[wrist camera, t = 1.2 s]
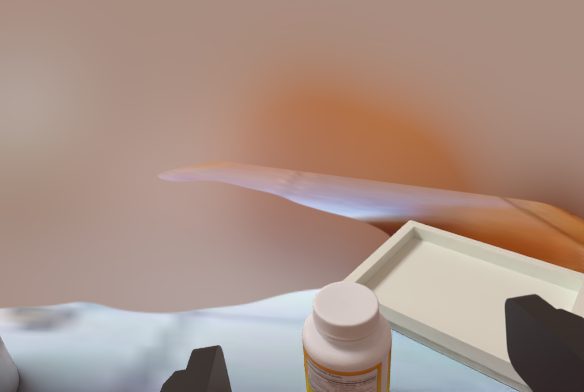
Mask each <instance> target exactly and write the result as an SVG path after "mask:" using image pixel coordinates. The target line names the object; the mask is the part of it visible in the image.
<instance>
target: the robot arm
mask: <svg viewBox="0 0 584 392" xmlns="http://www.w3.org/2000/svg"><path fill="white" fill-rule="evenodd" d="M505 324H506V342H507V352H508V356H509V359H510V362H511V364H512V366H513V368H514V370H515V371H516V372H517V374H518V375H519V376H520V377H521V378H522V380H523V381H524V382H525V383H526V384H527V385H528V386H529V388H530V389H531V390H532V391H533V392H584V318H583V317H581V316H579V315H576V314H574V313H571V312H569V311H566V310H564V309H556V308H554V307H553V306H552V305H551V304H549V303H548V302H547V301H545V300H544V299H543V298H541V297H540V296H539V295H537V294H531V295H525V296H519V297H512V298H508V299H506V301H505ZM18 385H19V375H18V371H17V369H16V367H15V365H14V363H13V361H12V359H11V357H10V355H9V353H8V351H7V349H6V347H5V345H4V343H3V341H2V339H1V337H0V392H16V391H17V389H18ZM160 392H232V390H231V386H230V382H229V377H228V373H227V368H226V364H225V359H224V355H223V351H222V348H221V346H220V345H217V346H211V347H205V348H199V349H194V350H193V351H192V353H191V356H190V359H189V362H188V365H187V368H186V370H180V371H175V372H174V373H173V374H172V376H171V377H170V378H169V379H168V380H167V381H166V382H165V383H164V384H163V386H162V389H161V391H160Z"/></svg>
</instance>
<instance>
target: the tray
mask: <svg viewBox="0 0 584 392" xmlns="http://www.w3.org/2000/svg"><path fill="white" fill-rule="evenodd" d="M342 282H354V283H358V284H361V285H364V286H366V287H368V288H369V289H370V290H372V291H373V292H374V293H375V295H376V296H377V298H378V301H379V312H380V313H381V314H382V315H383V316H384V317H385V319H386V320H387V322H388V324H389V326H390V328H391V329H393V330H395V331H397V332H399V333H401V334H403V335H405V336H407V337H409V338H411V339H413V340H415V341H417V342H419V343H422V344H424V345H426V346H428V347H430V348H432V349H434V350H436V351H438V352H440V353H442V354H444V355H446V356H448V357H450V358H452V359H454V360H456V361H459V362H461V363H463V364H465V365H467V366H469V367H471V368H473V369H475V370H477V371H479V372H481V373H483V374H485V375H487V376H489V377H491V378H493V379H496V380H498V381H500V382H502V383H504V384H506V385H508V386H510V387H512V388H514V389H516V390H518V391H520V392H533V391H532V390H531V389H530V388H529V386H528V385H527V384H526V383H525V382H524V381H523V380H522V378H521V377H520V376H519V375H518V374H517V372H516V371H515V370H514V368H513V366H512V364H511V362H510V359H509V356H508V352H507V342H506V324H505V301H506V299H508V298H512V297H519V296H525V295H531V294H537V295H539V296H540V297H541V298H543V299H544V300H545V301H547V302H548V303H549V304H551V305H552V306H553V307H554V308H556V309H564V310H566V311H569V312H571V313H574V314H576V315H579V316H581V317H583V318H584V274H582V273H579V272H576V271H573V270H569V269H566V268H563V267H560V266H556V265H553V264H550V263H547V262H543V261H540V260H537V259H534V258H531V257H527V256H524V255H521V254H518V253H514V252H511V251H508V250H505V249H501V248H498V247H495V246H492V245H489V244H485V243H482V242H479V241H476V240H472V239H469V238H466V237H463V236H459V235H456V234H453V233H450V232H447V231H443V230H440V229H437V228H434V227H430V226H427V225H424V224H421V223H417V222H414V221H411V220H409V221H408V222H407V223H406V224H405V225H404V226H403V227H402V228H401V229H400V230H398V231H397V232H396V233H395V234H394V235H393V236H392V237H391V238H390V239H389V240H387V241H386V242H385V243H384V244H383V245H382V246H381V247H380V248H379V249H378V250H377V251H376V252H374V253H373V254H372V255H371V256H370V257H369V258H368V259H367V260H365V261H364V262H363V263H362V264H361V265H360V266H359V267H358V268H357V269H356V270H354V271H353V272H352V273H351V274H350V275H349V276H348V277H347V278H346V279H344V280H343V281H342Z"/></svg>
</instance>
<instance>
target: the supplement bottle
mask: <svg viewBox="0 0 584 392" xmlns="http://www.w3.org/2000/svg"><path fill="white" fill-rule="evenodd" d="M302 340H303V351H304V366H305V375H306V387H307V392H389V386H390V364H391V345H392V335H391V329H390V326H389V324H388V322H387V320H386V319H385V317H384V316H383V315H382V314H381V313H380V312H379V301H378V298H377V296H376V295H375V293H374V292H373V291H372V290H370V289H369V288H368V287H366V286H364V285H361V284H358V283H354V282H336V283H332V284H329V285H327V286H325V287H323V288H322V289H320V290H319V291H318V292H317V294H316V295H315V297H314V300H313V312H312V313H311V314H310V315H309V316H308V318H307V319H306V321H305V323H304V326H303V332H302Z"/></svg>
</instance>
